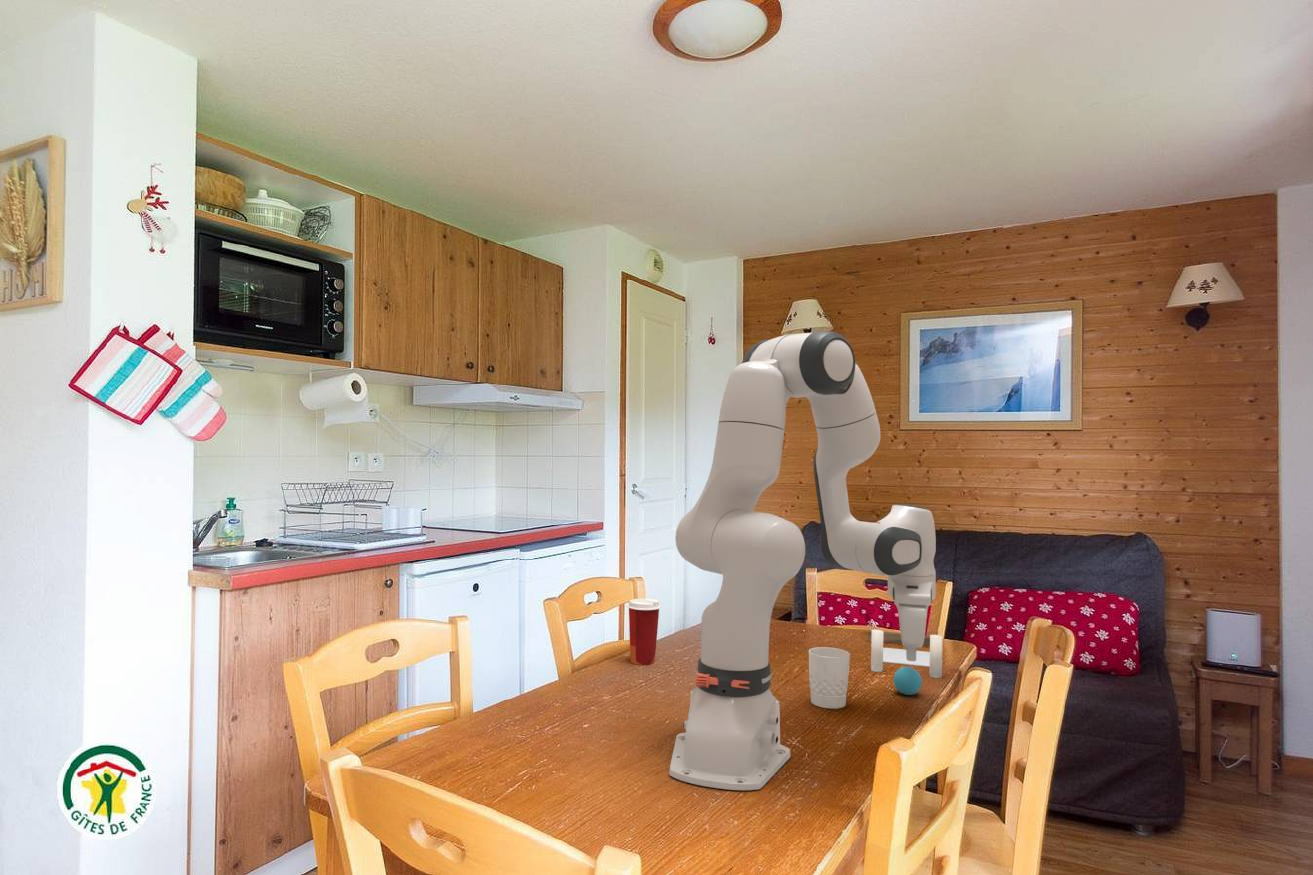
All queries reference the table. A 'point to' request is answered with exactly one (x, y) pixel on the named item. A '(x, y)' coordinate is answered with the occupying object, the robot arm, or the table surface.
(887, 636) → the stopper wall
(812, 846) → the table surface
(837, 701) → the white cup
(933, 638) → the post right
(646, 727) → the table surface
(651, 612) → the paper cup
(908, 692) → the ball
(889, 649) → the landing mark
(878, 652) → the post left
